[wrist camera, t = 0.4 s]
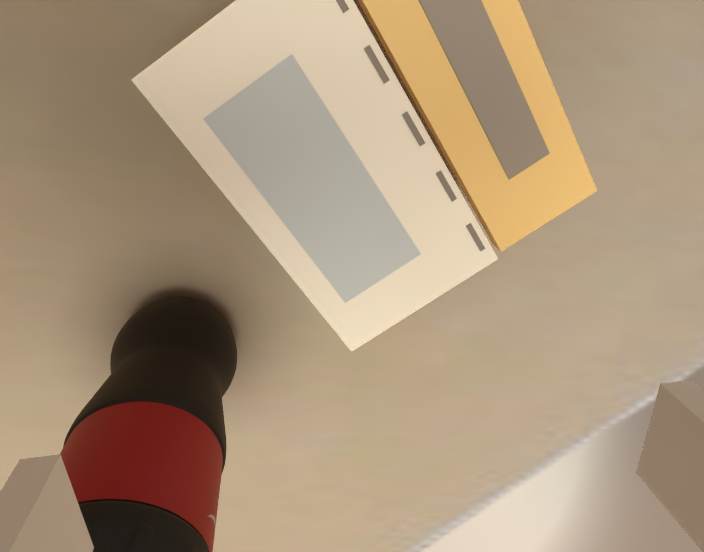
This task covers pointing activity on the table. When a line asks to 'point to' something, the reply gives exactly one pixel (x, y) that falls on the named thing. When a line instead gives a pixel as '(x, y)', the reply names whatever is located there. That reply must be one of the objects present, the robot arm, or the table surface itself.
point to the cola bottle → (156, 433)
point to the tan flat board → (487, 107)
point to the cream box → (321, 158)
